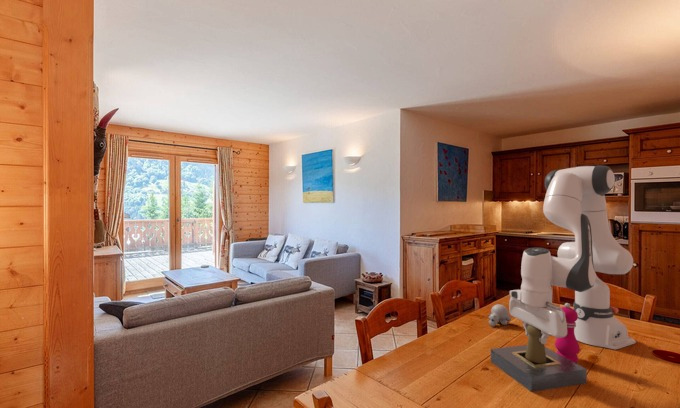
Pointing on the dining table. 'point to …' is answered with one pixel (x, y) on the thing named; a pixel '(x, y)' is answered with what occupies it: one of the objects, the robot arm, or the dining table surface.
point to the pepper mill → (569, 336)
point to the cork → (535, 346)
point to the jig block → (538, 369)
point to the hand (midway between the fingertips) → (535, 339)
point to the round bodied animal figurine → (499, 315)
